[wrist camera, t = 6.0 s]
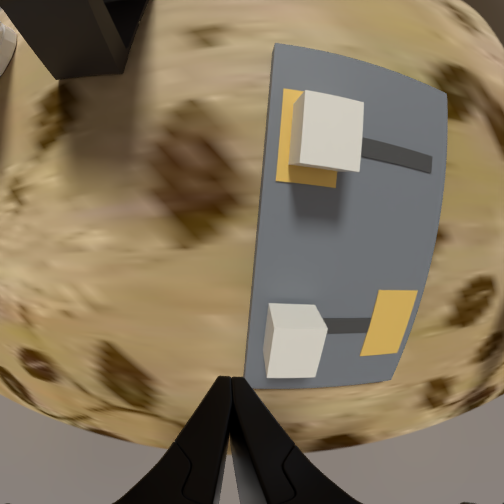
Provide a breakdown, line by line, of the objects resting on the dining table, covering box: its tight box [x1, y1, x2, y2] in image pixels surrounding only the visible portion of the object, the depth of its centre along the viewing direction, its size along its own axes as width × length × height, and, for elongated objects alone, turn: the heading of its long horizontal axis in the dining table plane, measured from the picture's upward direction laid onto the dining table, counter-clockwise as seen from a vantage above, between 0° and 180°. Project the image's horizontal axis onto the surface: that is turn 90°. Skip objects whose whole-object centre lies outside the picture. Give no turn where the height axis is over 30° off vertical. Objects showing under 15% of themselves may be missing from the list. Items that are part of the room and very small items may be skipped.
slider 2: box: [263, 303, 328, 378], centre depth 16 cm, size 3×4×3 cm
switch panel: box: [243, 43, 447, 389], centre depth 18 cm, size 13×24×2 cm, turn 175°
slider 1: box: [288, 90, 364, 172], centre depth 13 cm, size 3×4×3 cm
